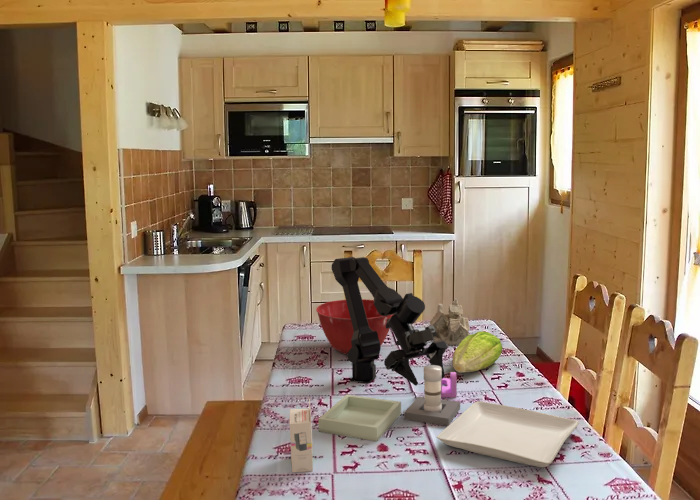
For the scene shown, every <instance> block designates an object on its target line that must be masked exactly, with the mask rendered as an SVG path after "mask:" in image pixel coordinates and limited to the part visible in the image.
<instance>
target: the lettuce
mask: <svg viewBox="0 0 700 500" xmlns="http://www.w3.org/2000/svg"><path fill="white" fill-rule="evenodd" d="M502 352H503V344H502V342H501V339H500V338H499V337H498V336H496V335H494V334H493V333H490V332H488V331H484V330H483V331H477V332H475V333H472V334H470V335H468V336H467V337H466V338H465V339H464V340H462V341H461V343H460V344H459V345H457V347H456V348H455V349H454V351H453V354H452V367H453V368H454V370H455V371H456V372H458V373H471V372H476V371H479V370H484V369H487V368H488V367H490V366H492V365H493V364H495V363H496V362H497V360H498V359H499V358H500V357H501V355H502Z"/></svg>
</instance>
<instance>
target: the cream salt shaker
mask: <svg viewBox="0 0 700 500" xmlns="http://www.w3.org/2000/svg"><path fill="white" fill-rule="evenodd" d="M423 380H424V382H423V383H424V387H423V388H424V390H423V392H424V400H425V402H424V410H425V411H432V412H439V413H441V411H442V403H441V400H442V397H441V380H442V368H441V367H440V366H437V365H431V364H427V365H425V366H424V367H423Z"/></svg>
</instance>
